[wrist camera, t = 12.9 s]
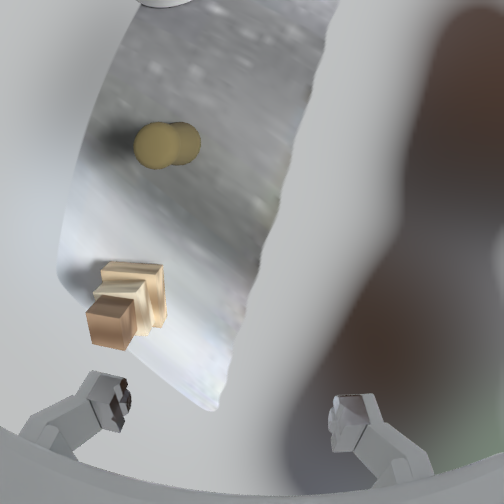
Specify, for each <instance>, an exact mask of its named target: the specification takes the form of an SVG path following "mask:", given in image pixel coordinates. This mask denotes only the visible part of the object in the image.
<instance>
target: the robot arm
mask: <svg viewBox="0 0 504 504" xmlns="http://www.w3.org/2000/svg"><path fill="white" fill-rule="evenodd" d="M137 1H138V2H140V3H141V4H143V5H146V6H150V7H158V8H163V7H172V6H177V5H181V4H184V3H187V2H189V1H191V0H137ZM127 386H128V383H127V379H125V378H123V377H118V376H114V375H110V374H106V373H101V372H97V371H93V370H92V371H91V372H89V374H88V376H87V377H86V379H85V380H84V382H83V383H82V385H81V387H80V388H79V390H78V392H77V393H76V395H75V396H73V395H71V396H69V397H67V398H65V399H64V400H61V401H60V402H58V403H56V404H54V405H52V406H50V407H48V408H46V409H44V410H42V411H40V412H37V413H36V414H33V415H31V416H30V418H29V419H28V421H27V422H26V424H25V425H24V427H23V428H22V430H21V432H20V433H19V435H16V434H14V433H12V432H10V431H8V430H6V429H4V428H3V427H1V426H0V504H504V453H498V454H495V455H493V456H490V457H488V458H485V459H482V460H480V461H477V462H474V463H472V464H469V465H466V466H463V467H460V468H457V469H454V470H451V471H447V472H444V473H441V474H438V475H435V474H434V472H433V469H432V466H431V464H430V461H429V458H428V456H427V453H426V452H425V451H424V450H422V449H421V448H420V447H418V446H417V445H416V444H414V443H413V442H412V441H410V440H409V439H408V438H406V437H405V436H404V435H402V434H401V433H400V432H398V431H397V430H396V429H395V428H393V427H392V426H391V425H389V424H388V423H384V422H383V419H382V416H381V413H380V411H379V408H378V405H377V402H376V399H375V397H374V395H373V394H361V395H360V394H355V395H336V396H335V398H334V400H333V404H334V407H333V408H331V410H330V412H329V417H328V427H329V431H330V432H331V433H332V434H333V435H332V437H331V444H332V449H333V452H349V451H353V453H354V454H355V455H356V456H357V457H358V458H359V459H360V460H361V461H362V462H363V463H364V465H365V466H366V467H367V468H368V469H369V470H370V471H371V472H372V473H373V474H374V475H375V476H376V477H377V478H378V480H377V481H376V482H375V484H374V485H373V486H372V487H371V489H367V490H360V491H352V492H344V493H333V494H321V495H302V496H258V495H238V494H226V493H216V492H207V491H199V490H192V489H184V488H179V487H173V486H168V485H163V484H158V483H153V482H148V481H144V480H139V479H135V478H132V477H127V476H124V475H120V474H116V473H113V472H110V471H106V470H103V469H99V468H97V467H93V466H90V465H88V464H85V463H82V462H79V461H78V459H77V458H76V456H75V455H74V453H73V452H72V451H74V450H75V449H76V448H78V447H79V446H81V445H82V444H83V443H85V442H86V441H87V440H89V439H90V438H91V437H93V436H94V435H95V434H97V433H98V432H99V431H100V430H101V429H105V430H109V431H114V432H118V433H120V432H121V430H122V427H123V425H124V423H125V420H124V417H123V416H125V415H126V414H128V413H129V410H130V407H131V402H132V401H131V394H130V392H129V391H128V390H127V389H126V388H127Z"/></svg>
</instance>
